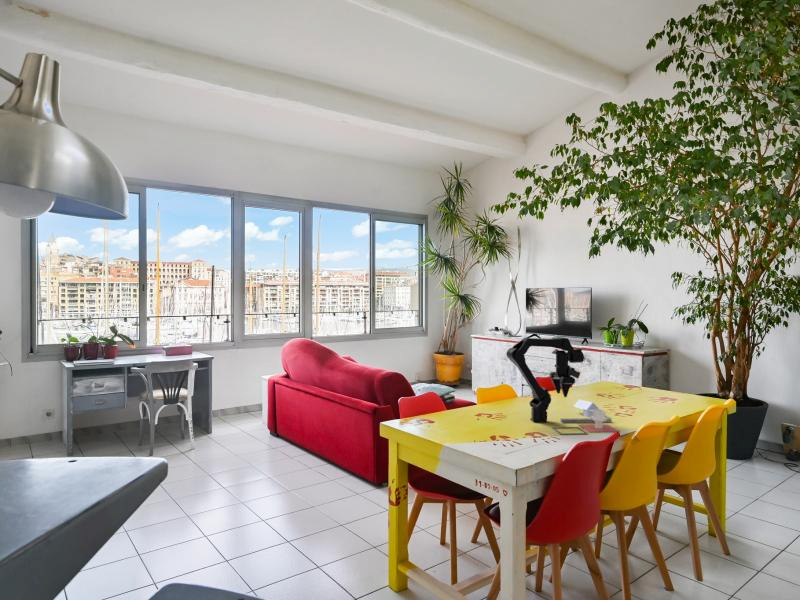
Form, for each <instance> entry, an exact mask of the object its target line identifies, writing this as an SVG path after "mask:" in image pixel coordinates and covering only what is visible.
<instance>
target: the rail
mask: <svg viewBox="0 0 800 600" xmlns="http://www.w3.org/2000/svg"><path fill="white" fill-rule="evenodd" d="M606 418H607V420H606V421H602V422H603V424H604V423H605V424H607V423H612V418H610V417H606ZM560 422H561V423H562V424H580V423H581V424H584V423H585V424H587V423H589V424H590V423H592V424H595V421H594V420H592V419H590V417H587V418H586V417H585V418H582V417H581V418H560Z"/></svg>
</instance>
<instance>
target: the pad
mask: <svg viewBox="0 0 800 600" xmlns="http://www.w3.org/2000/svg"><path fill="white" fill-rule="evenodd" d="M602 425H603V427H602V429H597V428H595V424H578V427H579V428H581V429H582V430H584V431H587V433H620V432H621V430H618V429H617V428H615V427H614V426H612V425H610V424H607V423H605V424H604V423H603V424H602Z"/></svg>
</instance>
